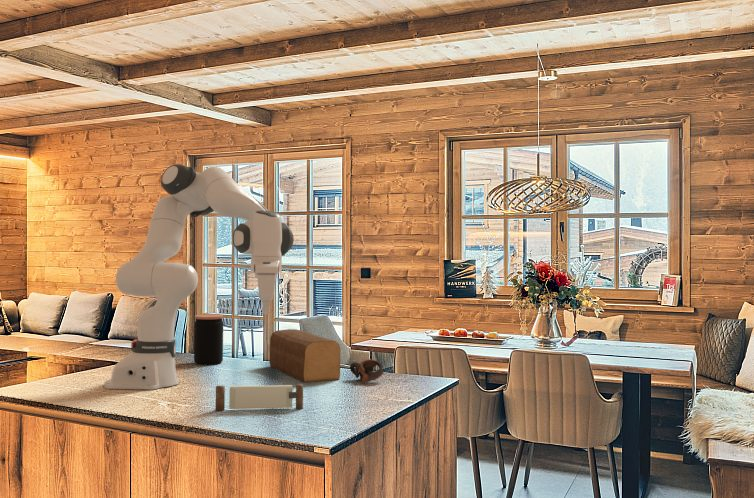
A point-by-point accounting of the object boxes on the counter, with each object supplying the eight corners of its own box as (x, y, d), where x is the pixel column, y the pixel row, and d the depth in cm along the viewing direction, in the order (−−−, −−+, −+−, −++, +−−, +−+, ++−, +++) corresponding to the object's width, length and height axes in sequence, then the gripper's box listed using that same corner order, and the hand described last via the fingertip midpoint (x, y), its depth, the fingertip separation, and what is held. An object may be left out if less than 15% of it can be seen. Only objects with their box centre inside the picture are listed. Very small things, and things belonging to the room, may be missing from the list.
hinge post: (215, 411, 190) (215, 387, 190) (215, 409, 192) (216, 385, 192) (224, 411, 191) (224, 387, 190) (224, 409, 193) (225, 385, 193)
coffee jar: (228, 362, 268) (229, 315, 268) (208, 366, 259) (208, 317, 259) (208, 359, 273) (209, 313, 273) (187, 363, 264) (188, 315, 264)
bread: (303, 364, 268) (303, 327, 268) (341, 380, 238) (342, 338, 238) (268, 366, 261) (268, 328, 261) (303, 383, 231) (303, 340, 231)
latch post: (288, 410, 193) (289, 386, 193) (288, 407, 196) (288, 384, 196) (303, 409, 194) (303, 386, 194) (302, 407, 196) (303, 384, 196)
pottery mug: (384, 380, 241) (388, 361, 237) (375, 397, 233) (379, 378, 229) (352, 369, 244) (355, 350, 240) (342, 385, 236) (344, 366, 232)
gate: (229, 409, 191) (229, 387, 191) (229, 408, 193) (229, 386, 192) (292, 407, 194) (292, 386, 194) (291, 406, 195) (292, 385, 195)
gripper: (255, 265, 214) (254, 310, 214) (255, 267, 194) (254, 317, 194) (276, 265, 215) (275, 310, 215) (278, 267, 195) (277, 317, 195)
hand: (265, 314), depth 204 cm, fingers closed
